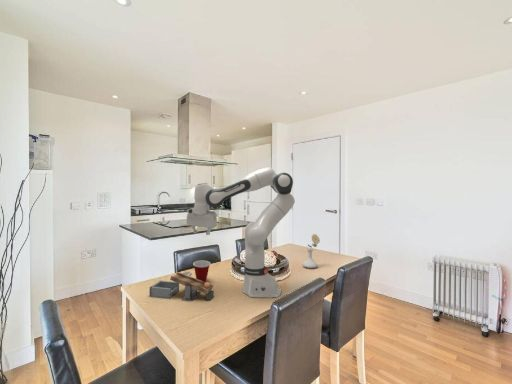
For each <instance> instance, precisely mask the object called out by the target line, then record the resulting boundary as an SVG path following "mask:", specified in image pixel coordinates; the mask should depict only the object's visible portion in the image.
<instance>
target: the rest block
mask: <svg viewBox="0 0 512 384" xmlns="http://www.w3.org/2000/svg"><path fill="white" fill-rule="evenodd" d="M214 292H215V291H214V290H213V289H212V290H211V291H210V292H209V293H208V294H206V293H205V300H206V301H211V300H212V299H213V298H214V295H215V293H214Z"/></svg>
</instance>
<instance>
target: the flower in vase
mask: <svg viewBox="0 0 512 384" xmlns="http://www.w3.org/2000/svg"><path fill="white" fill-rule="evenodd" d="M311 241H312V245H310V244H307V247H308V248H307V249H306V250H307V253H308V254H307V255H308V257H307V259H306V260H305V261H303V262H302V264H301V266H302V267H304V268H306V267H307V268H308V269H315V268H317V267H318V266H319V265H318V263H317V262H316V260H314V259H313V258H312V257H313V255H312V254H313V251H314V248H317V247H318V244H319V243H320V238H319V236H318V235H317V234H316V233H313V234H312V235H311ZM312 247H313V248H312Z"/></svg>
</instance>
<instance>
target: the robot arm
mask: <svg viewBox="0 0 512 384" xmlns="http://www.w3.org/2000/svg"><path fill="white" fill-rule="evenodd" d="M293 185H294V179H293V177H292V176H291V174H289V173H287V172H280V173H278V174H277V173H276V171H275V170H274V169H273V167H270V166H266V167H262V168H259V169H256V170H253V171H252V172H250V173H248V174H246V175H245V176H243V177H242V178H241V179H239V180H238V181H237V182H235V183H232V184H230V185H228V186H225V187H223V188H217V187H214V186H213V185H211V184H210V183H208V182H205V183H204V182H202V183H199V184H196V186H194V187H195V188H194V206H193V207H191V208H189V209H187V210H186V212H187V215H186V224H187V226H191V229H192V230H193V231H192V232H193V234H197V233H198V229H196V227H201V228H202V227H203V228H207V231H206V232H205V235H206V236H209V235H211V231H212V229H215V228H217V227H218V218H217V213H216V212H215V211H210V209H211V208H218V207H220V206H221V205H222V204H224V202H225V201H227V200H228V199H230V198H232V197H235V196H238V195H240V194H242V193H248V192H254V191H258V190H261V189H263V188H265V187H268V186H270V187H271V188H272V190H273V191H274V192H275V193H276V197H275V198H274V199H272V201H271V202H270V203H269V204H268V205H267V206H266V208H264V209H263V211H261V213H260V214H259V216H258V217H257V219H256V220H255V221H251V222H249V223H247V224H246V226H245V228H244V254H245V259H244V263H245V265H244V269H243V274H244V275H243V276H244V281H243V284H242V285H243V286H242V288H241V291H242V293H243V294H245V295H247V296H248V297H249V298H272V297H276V298H279V297H280V296H281V294H282V289H281V287H280V286H278V282H277V279H276V278H275V277H274V276H272V275H271V274H270V273H269V269H268V268H269V267H268V266H265V248H264V247H265V245H264V244H265V242H266V240H267V238H268V237H269V236H270V234H271V233H272V232H273V230H274V229H275V228H276V226H277V225H278V224H279V223H280V221H281V220H283V218H284V217H286V216H287V214H288V213H289V212H290V211H291V209H292V208H293V207H294V205H295V202H296V201H295V198H294V196H293V194H291V192H292V188H293ZM210 207H211V208H210Z"/></svg>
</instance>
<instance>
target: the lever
mask: <svg viewBox="0 0 512 384" xmlns="http://www.w3.org/2000/svg"><path fill="white" fill-rule="evenodd" d="M192 275H193V273H192V272H190V271H187V270H186V271H184V272H179V271H177V272H176V274H175V275H171V276H170V281H171V282H177V283H179V285H182V286H184V287H185V286H186V285H189V286H191V288H193V289H195V290H198V291H199V292H201V293H204V294H205V295H206V294H208V293H209V292H210V291H211V290H212V291H213V286H214V284H211V283H210V287H209V288H207V289H206V288H205V287H204V284H205V283H206V282H207V281H206V282H203V281H201V280H198V279H196V277H193V276H192Z"/></svg>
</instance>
